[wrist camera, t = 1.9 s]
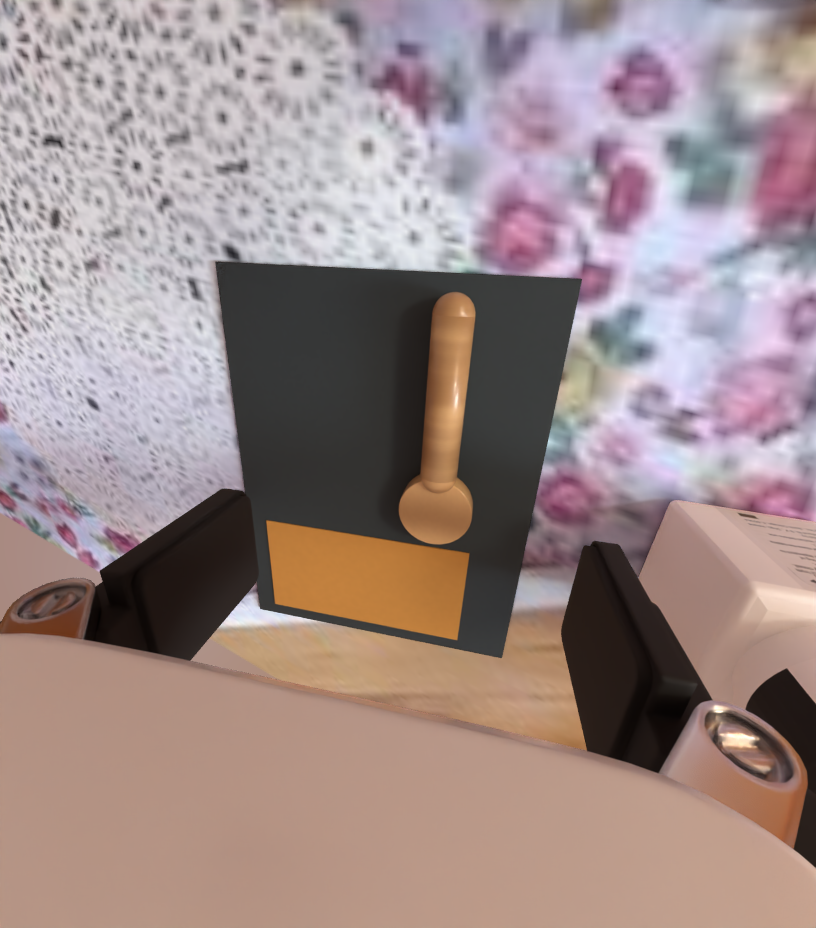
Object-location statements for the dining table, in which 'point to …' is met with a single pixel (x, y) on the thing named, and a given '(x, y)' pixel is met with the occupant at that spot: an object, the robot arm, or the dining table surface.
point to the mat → (388, 440)
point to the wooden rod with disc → (443, 429)
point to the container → (743, 610)
